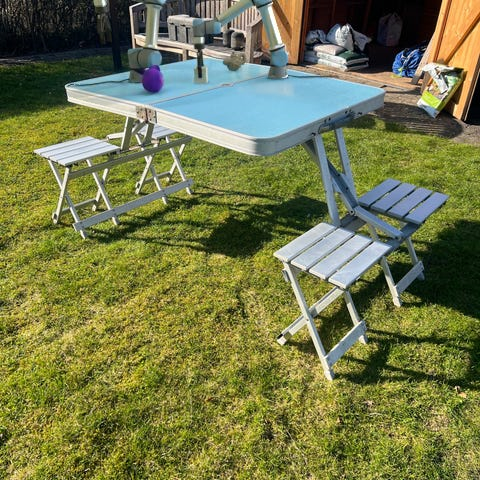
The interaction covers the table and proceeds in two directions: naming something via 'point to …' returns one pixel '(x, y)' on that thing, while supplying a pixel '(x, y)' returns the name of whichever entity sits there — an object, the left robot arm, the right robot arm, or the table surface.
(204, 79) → the brick
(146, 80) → the toy
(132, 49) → the left robot arm
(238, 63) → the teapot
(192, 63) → the table surface
